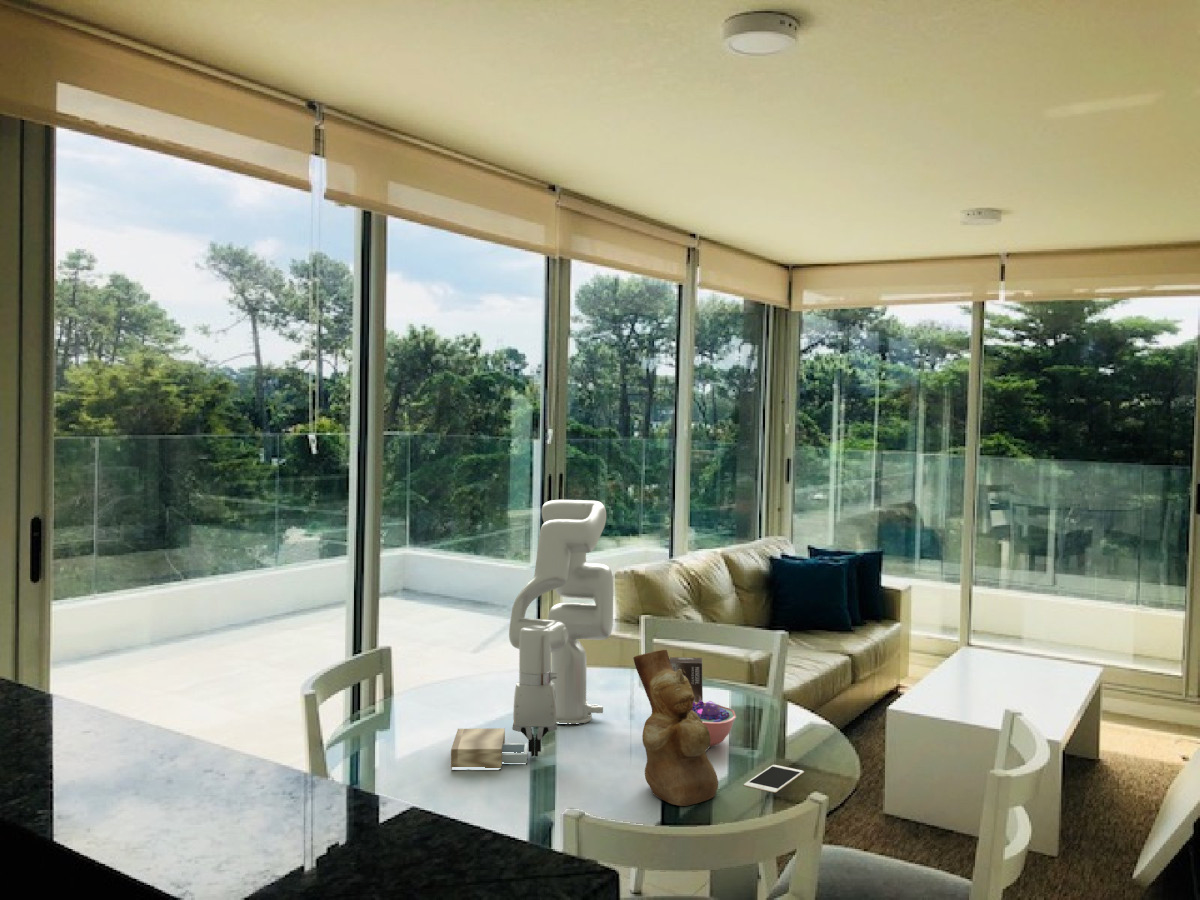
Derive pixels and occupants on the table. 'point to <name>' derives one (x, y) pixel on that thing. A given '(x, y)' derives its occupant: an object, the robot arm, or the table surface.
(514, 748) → the grey shallow tray
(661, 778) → the ceramic vessel
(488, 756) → the wooden block
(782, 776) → the cell phone
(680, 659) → the coffee box
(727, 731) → the cell model
